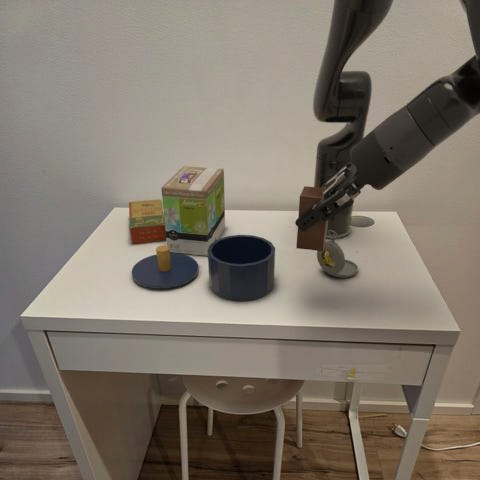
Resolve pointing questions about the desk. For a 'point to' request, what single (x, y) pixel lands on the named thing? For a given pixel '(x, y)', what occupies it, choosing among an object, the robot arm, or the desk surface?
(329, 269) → the pocket watch
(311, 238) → the block
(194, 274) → the tin lid
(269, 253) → the tin
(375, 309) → the desk surface
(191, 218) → the tea box
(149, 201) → the carton
